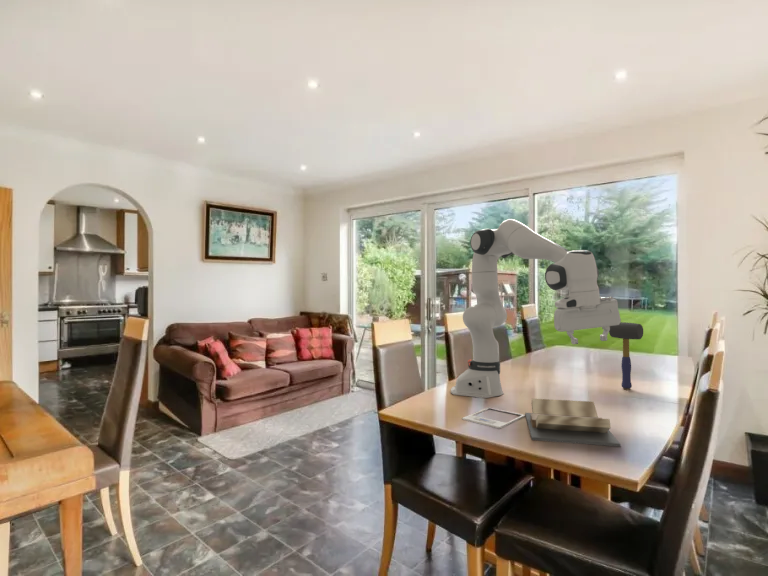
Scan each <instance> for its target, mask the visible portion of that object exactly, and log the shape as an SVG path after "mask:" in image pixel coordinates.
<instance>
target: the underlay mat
mask: <svg viewBox="0 0 768 576" xmlns="http://www.w3.org/2000/svg"><path fill="white" fill-rule="evenodd" d="M530 413H531V414H533V413H532V412H525V413H524V415H525V419H526V422H527V427H528V430H529V434H530V437H531V441H542V442H555V443H566V444H567V443H568V444H569V443H570V444H581V445H595V446H607V447H621V443H620V442H619V440H618V439H617V438H616V437H615V436H614V434H613V433H612V432H611V431H610V429H609V430H608V433H607V432H606V433H600V432H585V431H570V430H555V429H541V428H533V427H532V424H531V416H530Z"/></svg>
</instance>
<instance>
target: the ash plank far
mask: <svg viewBox="0 0 768 576" xmlns="http://www.w3.org/2000/svg"><path fill="white" fill-rule="evenodd" d="M531 410H532V412H531V413H533V414H548V415H564V416H581V417H598V418H599V415H598V412H597V409H596V405H595V402H594V401H588V400H587V401H585V400H567V399H551V398H550V399H547V398H531Z"/></svg>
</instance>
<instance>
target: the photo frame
mask: <svg viewBox="0 0 768 576" xmlns="http://www.w3.org/2000/svg"><path fill="white" fill-rule="evenodd" d="M488 410H493V411H499V412H502V413H507V414H512V415H517V416H518V417H515V418H513V419H511V420H508V421H507V422H504V421H499V420H495V419H491V418H487V417H482V416H477V415H479V414H482V413H483V412H484V413H485V412H487V411H488ZM523 418H526V416H525V414H523V413H517V412H512V411H507V410H503V409H502V410H501V409H498V408H493V407H485V408H484V409H481V410H479V411H477V412H474V413H471V414H469V415H466V416H464V417H462V418H461V420H463V421H467V422H470V423H476V424H479V425H483V426H487V427H491V428H496V429H502V428H505V427H507V426H509V425H510V424H513V423H515V422H517V421H519V420H521V419H523Z"/></svg>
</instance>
